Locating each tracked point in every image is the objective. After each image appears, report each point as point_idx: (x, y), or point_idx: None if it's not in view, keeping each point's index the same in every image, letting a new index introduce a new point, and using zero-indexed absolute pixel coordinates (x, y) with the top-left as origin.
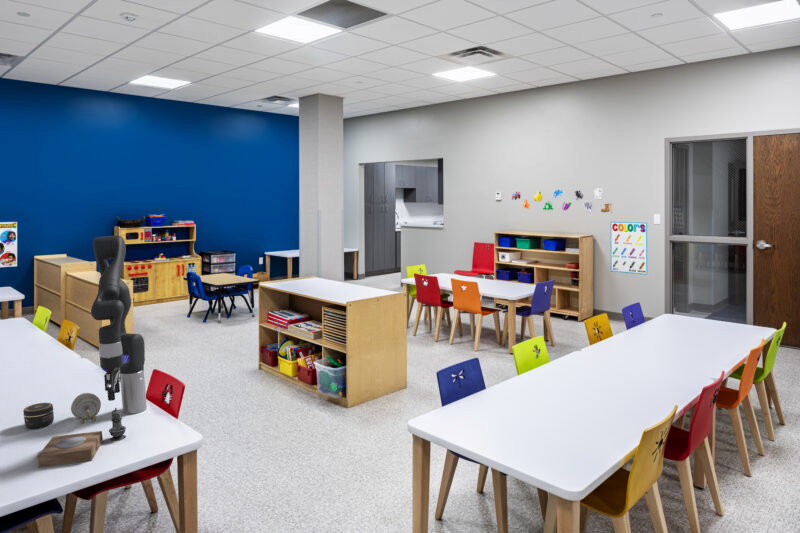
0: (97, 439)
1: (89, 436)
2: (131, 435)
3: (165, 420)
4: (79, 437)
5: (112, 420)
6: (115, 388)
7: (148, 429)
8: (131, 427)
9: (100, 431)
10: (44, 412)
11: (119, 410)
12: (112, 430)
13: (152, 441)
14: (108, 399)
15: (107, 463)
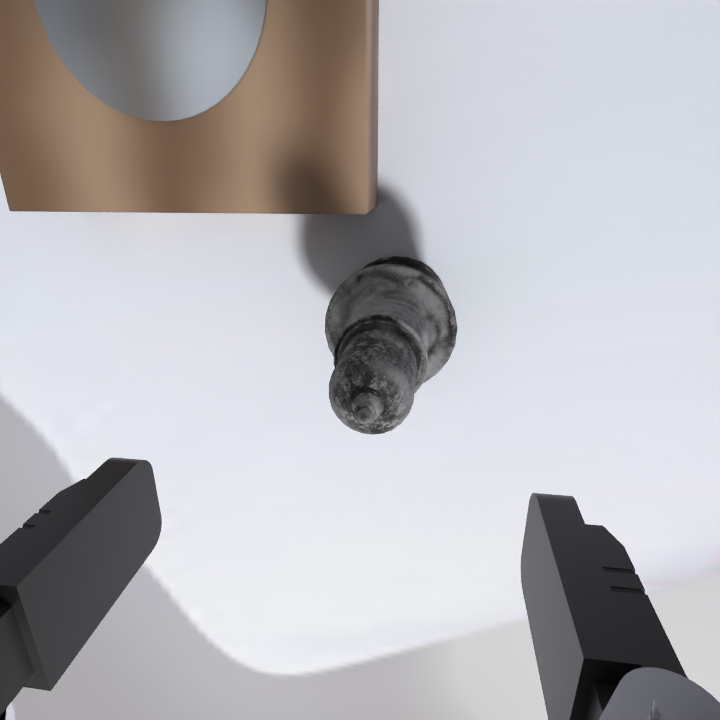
0: (207, 212)
1: (261, 128)
2: None
3: None
4: (237, 36)
5: (351, 331)
6: (544, 587)
7: (482, 478)
8: (579, 372)
9: (352, 204)
10: None
11: (371, 432)
12: (350, 301)
13: (275, 505)
14: (105, 468)
15: (26, 307)
